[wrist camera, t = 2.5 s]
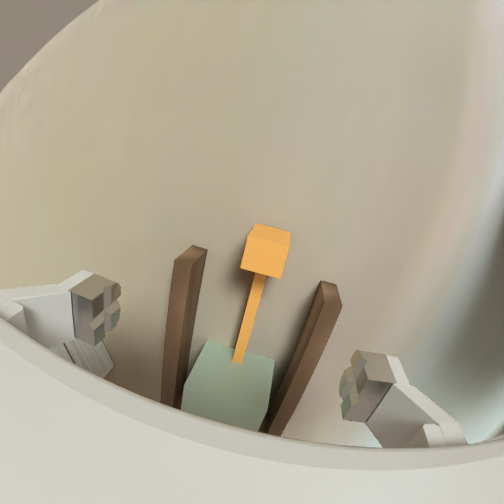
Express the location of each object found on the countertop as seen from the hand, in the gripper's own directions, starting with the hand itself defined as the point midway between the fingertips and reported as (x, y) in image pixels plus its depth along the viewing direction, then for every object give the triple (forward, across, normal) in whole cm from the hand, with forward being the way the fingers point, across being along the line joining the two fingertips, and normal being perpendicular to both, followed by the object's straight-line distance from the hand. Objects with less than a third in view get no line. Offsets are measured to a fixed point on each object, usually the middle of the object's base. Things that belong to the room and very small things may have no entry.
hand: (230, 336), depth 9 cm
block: (+12, 0, +7) cm, 14 cm away
